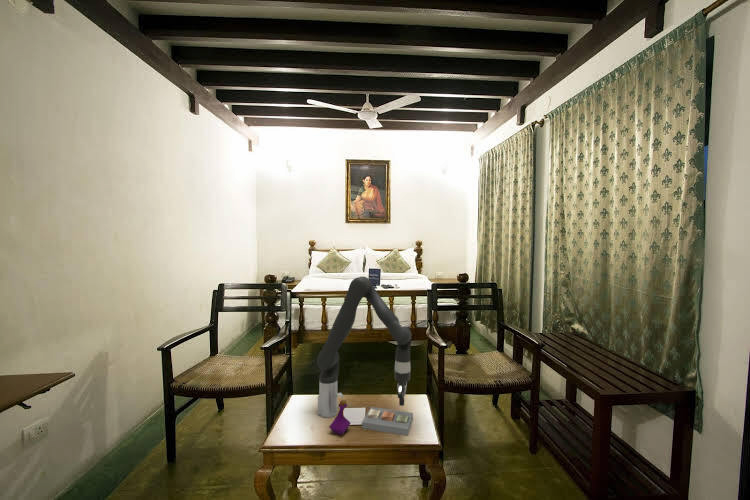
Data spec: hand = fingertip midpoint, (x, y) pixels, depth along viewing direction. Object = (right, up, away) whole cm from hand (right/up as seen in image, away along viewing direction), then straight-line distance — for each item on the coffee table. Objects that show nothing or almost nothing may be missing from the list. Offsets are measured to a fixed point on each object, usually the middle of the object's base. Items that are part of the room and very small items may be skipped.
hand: (401, 404), depth 159 cm
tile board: (-7, -10, +2) cm, 12 cm away
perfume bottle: (-29, -10, -5) cm, 31 cm away
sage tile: (0, -9, 0) cm, 9 cm away
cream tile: (-13, -7, +4) cm, 16 cm away
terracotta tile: (-7, -8, +2) cm, 10 cm away
